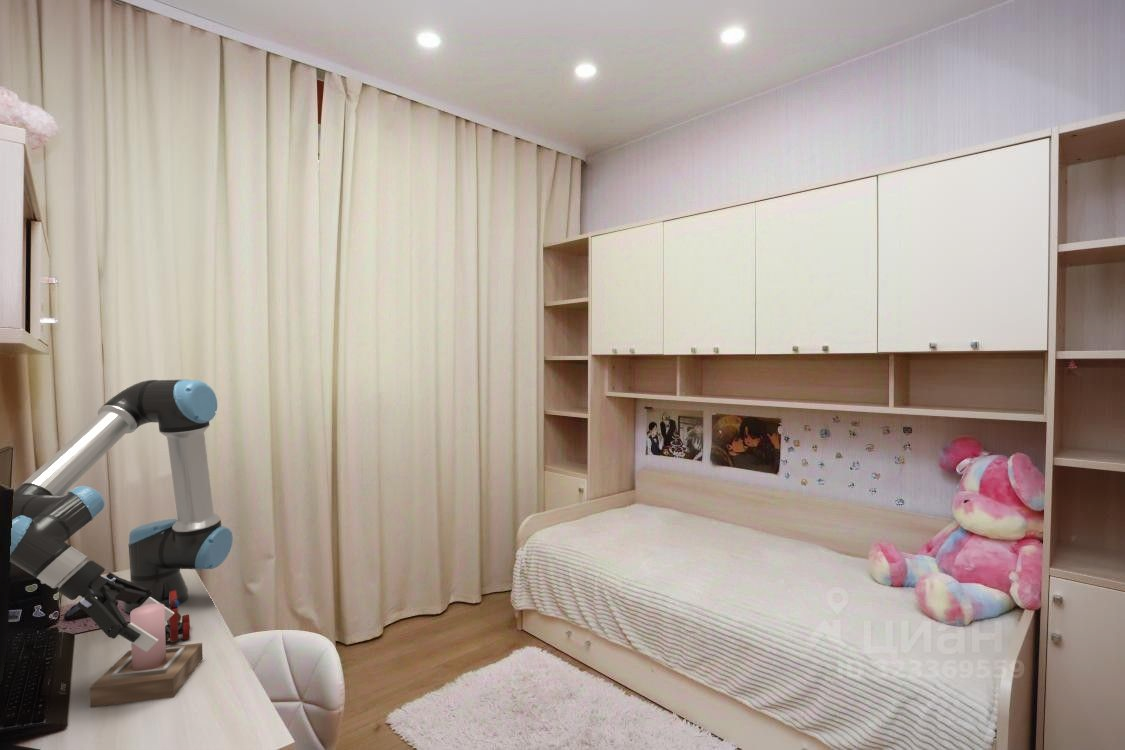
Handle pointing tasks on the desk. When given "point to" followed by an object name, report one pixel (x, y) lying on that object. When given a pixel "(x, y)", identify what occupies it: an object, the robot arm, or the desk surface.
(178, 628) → the toy fire truck
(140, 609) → the rose cylinder
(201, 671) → the desk surface
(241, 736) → the desk surface
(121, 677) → the walnut base
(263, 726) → the desk surface
